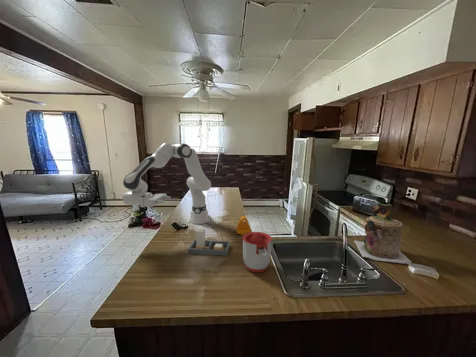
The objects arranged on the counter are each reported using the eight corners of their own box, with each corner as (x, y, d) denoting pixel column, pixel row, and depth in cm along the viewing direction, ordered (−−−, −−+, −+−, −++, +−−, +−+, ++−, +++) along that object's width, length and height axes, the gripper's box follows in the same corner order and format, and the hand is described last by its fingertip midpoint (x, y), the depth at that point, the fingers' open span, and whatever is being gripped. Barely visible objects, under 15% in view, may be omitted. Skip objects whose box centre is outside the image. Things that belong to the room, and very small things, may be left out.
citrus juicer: (248, 279, 105) (248, 241, 102) (238, 261, 122) (239, 228, 119) (277, 274, 109) (278, 238, 106) (264, 257, 126) (265, 225, 123)
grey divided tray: (194, 243, 143) (194, 239, 143) (229, 245, 141) (229, 241, 140) (188, 253, 130) (187, 249, 130) (227, 255, 128) (227, 250, 128)
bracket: (237, 235, 158) (237, 219, 156) (236, 231, 165) (236, 216, 163) (251, 234, 159) (252, 219, 157) (250, 230, 166) (250, 215, 164)
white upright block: (197, 245, 139) (197, 228, 137) (206, 246, 139) (206, 228, 137) (194, 250, 133) (194, 232, 132) (204, 250, 133) (203, 232, 131)
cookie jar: (394, 246, 141) (400, 199, 136) (413, 266, 118) (421, 210, 113) (353, 241, 148) (357, 196, 143) (362, 259, 124) (368, 206, 120)
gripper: (155, 199, 152) (173, 200, 151) (139, 208, 132) (161, 208, 130) (154, 191, 151) (173, 191, 150) (138, 198, 131) (160, 198, 129)
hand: (167, 199), depth 140 cm, fingers open, 8 cm apart
